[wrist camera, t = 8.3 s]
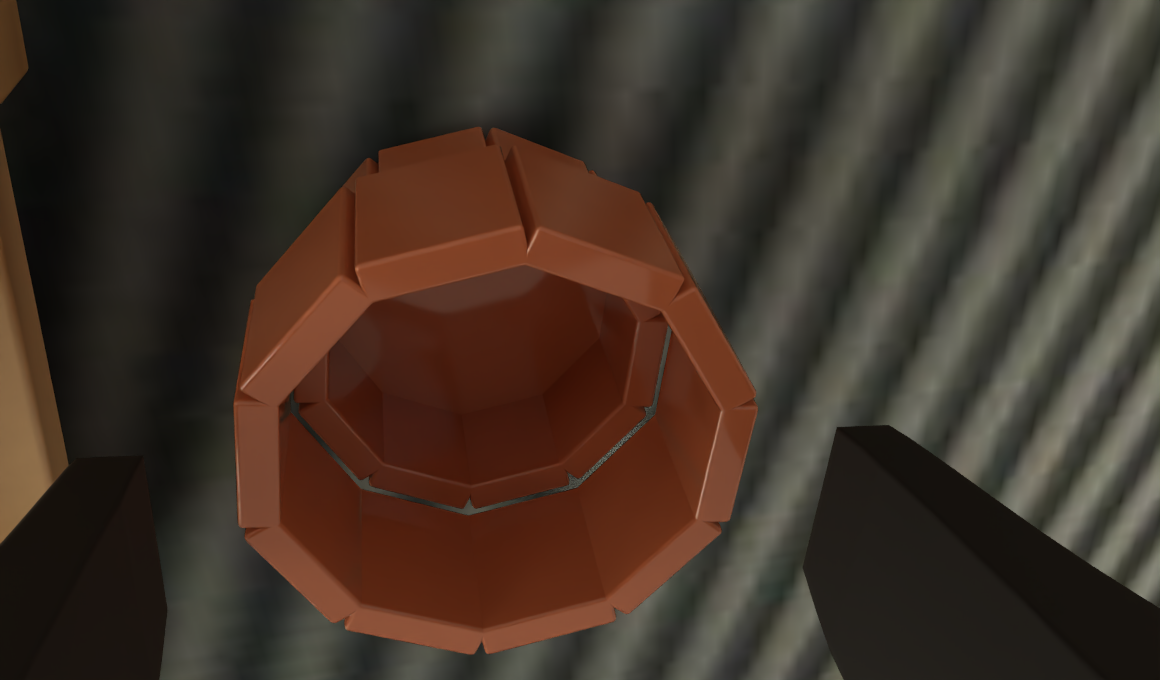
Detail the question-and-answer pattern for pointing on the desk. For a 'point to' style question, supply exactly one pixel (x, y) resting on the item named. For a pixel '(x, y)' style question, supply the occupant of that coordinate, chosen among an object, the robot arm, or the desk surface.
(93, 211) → the desk surface
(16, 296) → the bowl rack
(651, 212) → the terracotta bowl
